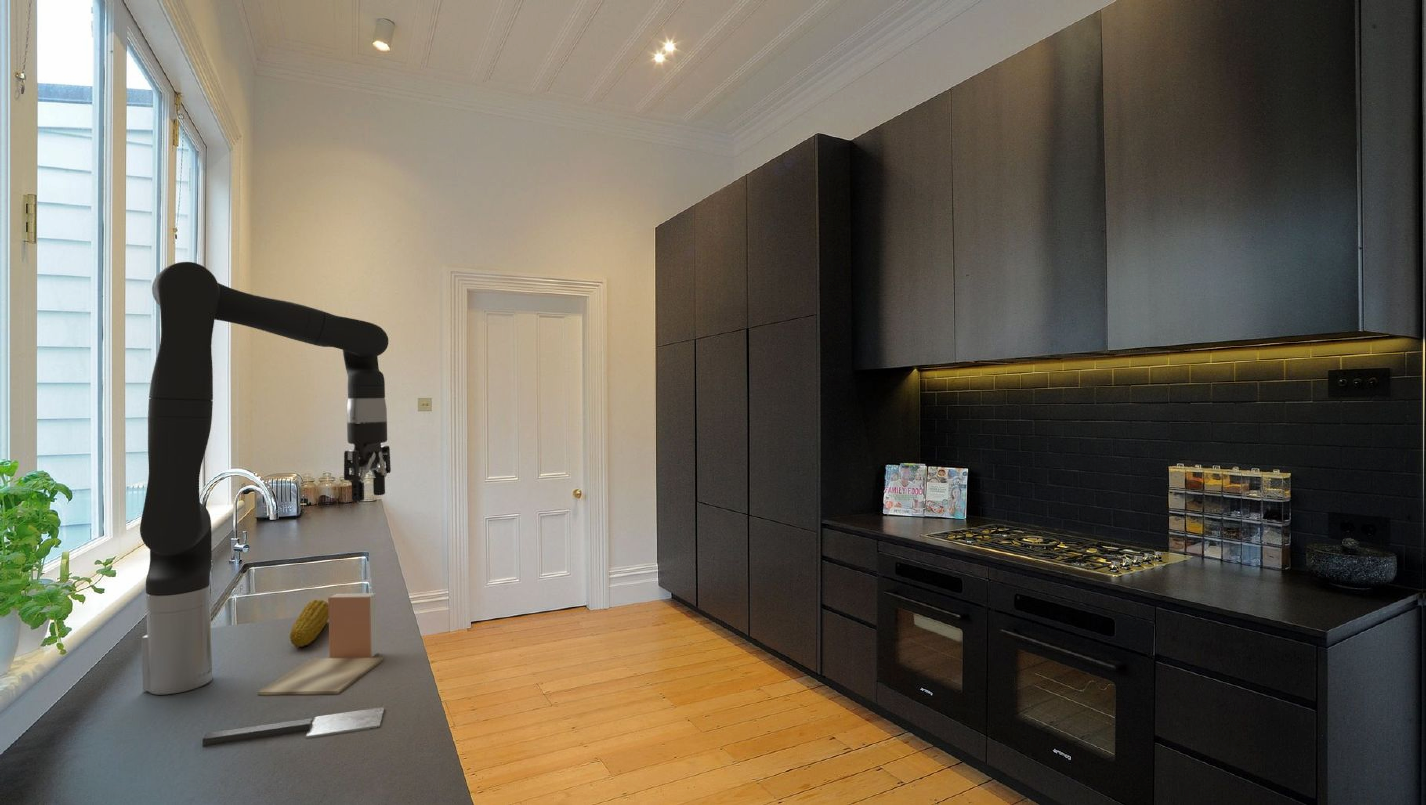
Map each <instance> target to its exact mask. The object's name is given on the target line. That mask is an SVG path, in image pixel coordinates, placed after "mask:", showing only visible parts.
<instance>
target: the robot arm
mask: <svg viewBox="0 0 1426 805" xmlns="http://www.w3.org/2000/svg"><path fill="white" fill-rule="evenodd" d="M151 293H152V296H153V298H154V301H155V302H156V304H157V305H158V306H159V310H160V315H159V316H160V343H159V348H158V351H157V356H156V359H155V362H154V367H153V371H152V375H151V379H150V387H149V393H148V405H147V406H148V408H147V456H148V457H147V458H148V459H147V460H148V461H147V462H148V477H147V478H148V479H147V485H146V492H145V496H144V502H143V503H144V504H143V509H142V515H141V517H140V518H141V520H140V525H139V535H140V538H141V540H142V542H143V544H144V545H145V546H146V547H147V549H149V565H148V572H147V575H146V579H145V599H146V600H145V602H146V606H145V607H146V633H147V634H145V635H143V636H142V637H141V664H142V665H141V666H142V669H141V670H142V692H148V693H150V694H153V695H158V696H159V695H172V694H178V693H184V692H187V691H191V690H195V689H198V688H201V687H203V686H205V685H206V684H208V683H210V682H211V681H212V679H213V655H212V654H213V653H212V652H213V649H212V648H213V647H212V619H211V618H212V617H211V616H212V615H211V584H210V583H211V582H210V580H211V579H210V578H211V577H210V576H211V569H212V562H213V561H212V560H213V559H212V557H213V556H212V550H213V549H212V547H213V544H212V543H213V542H212V541H213V540H212V538H213V537H212V519H211V515H210V513H209V510H208V509H207V508H206V506H205V505H204V504H203V503H201V502H200V501H201V500H200V498H201V497H200V476H201V475H200V474H201V469H202V465H203V461H204V457H205V454H206V451H207V446H208V442H209V440H210V434H211V430H212V422H213V406H214V404H213V403H214V401H213V400H214V376H213V374H214V371H213V354H212V345H213V344H212V343H213V333H214V332H213V331H214V326H215V320H216V321H220V322H221V321H222V322H227V323H232V324H237V325H241V326H245V327H248V328H252V329H255V330H256V329H257V330H259V331H263V332H266V333H271V334H273V335H277V336H280V337H282V338H287V339H291V340H294V341H298V342H301V343H305V344H309V345H312V346H313V345H314V346H317V347H322V348H323V347H324V348H335V349H338V350H342V354H343V362H344V366H345V370H346V374H347V406H346V424H347V425H346V427H347V428H346V429H347V434H346V435H347V443H348V444H351V445H354V446H353V449H352V450H351V449H350V450H344V452H343V454H344V455H343V479H344V481H348V482H349V483H351V501H353V502H362V501H364V500H365V483H364V480H365V478H366V475H367V474H369V473H370V472H371V474H372V480H373V481H372V488H373V490H372V491H373V495H374V496H383V495H385V494H386V479H385V478H386V477H387V475H388V474H391V472H392V470H391V469H392V468H391V449H390V446H389V445H381V443H386V442H387V441H388V417H387V416H388V415H387V414H388V411H387V405H386V386H385V385H386V383H385V375H384V373H383V372H382V371H380V369H379V368H380V367H379V359H378V357H379V356H381V355H382V354H384V352H386V350H387V349H388V345H389V337H388V334H387V333H386V331H385V330H384V329H383V328H382V327H381V326H379V325H377V324H375V323H372V322H368V321H365V320H361V319H355V318H351V317H345V316H340V315H336V314H335V315H334V314H332V313H329V312H327V311H323V310H322V309H318V308H314V307H310V306H307V305H303V304H300V303H295V302H293V301H292V302H291V301H287V300H281V299H275V298H271V297H265V296H260V295H256V294H252V293H247V292H244V291H241V290H238V289H234V288H231V287H229V286H227V285H225V284H221V283H219V282H218V280H217V278H216V277H215V275H214V274H213V273H212V272H211V271H210V270H209V269H208V268H207V267H205V266H203V265H202V264H200V263H197V262H193V261H181V262H179V261H178V262H176V263H173V264H170V265H168V266H167V267H164V268H163V269H162V270H161V271H160V272H159V273H158V274H157V275H156V277H155V278H154V280H153V283H152V286H151ZM350 471H351V472H350Z"/></svg>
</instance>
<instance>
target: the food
mask: <svg viewBox="0 0 1426 805" xmlns="http://www.w3.org/2000/svg"><path fill="white" fill-rule="evenodd" d="M328 621H329V610H328V601H325V600H322V599H319V600H317V599H314V600H312V601H310V602H309V603H307V604H306V605H305V606H304V608H303V609H302V611H301V612H300V614H299V616H298V617H297V619H296V621H295V622H294V624H293V626H292V628H291V629H290V634H289V639H290V642H291V643H290V644H291V645H293V646H294V647H296V648H301V647H306V646H308V645H310V644H311V643H312V642H313V641H314V640H315V639H316V638H317V637H318V635H320V633H321V631H323V628H324V627H325V625H326V624H327V622H328Z"/></svg>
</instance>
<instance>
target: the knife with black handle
mask: <svg viewBox="0 0 1426 805" xmlns="http://www.w3.org/2000/svg"><path fill="white" fill-rule="evenodd" d="M384 712H385V706H383V707H374V708H368V709H367V708H366V709H360V710H354V711H347V712H340V713H333V714H332V713H331V714H325V715H318V716H315V717H314V719H313V718H305V719H297V720H291V721H290V720H289V721H282V722H275V723H270V724H261V725H256V726H255V725H254V726H248V727H240V728H234V729H227V730H220V731H213V732H207V733H206V734H205V735H204V736H203V738H202V748H204V747H205V748H206V747H209V746H210V747H211V746H216V745H224V744H230V743H238V742H245V741H251V740H258V739H260V740H261V739H265V738H271V737H280V736H285V735H287V736H288V735H293V734H298V733H299V734H300V733H306V732H307V733H306V735H305V738H306V739H310V738H312V739H313V738H317V737H323V736H331V735H332V736H333V735H337V734H345V733H350V732H351V733H353V732H359V731H366V730H371V729H370V728H373V729H378V728H377V727H379V728H380V727H381V724H382V719H383V717H382V716H384Z"/></svg>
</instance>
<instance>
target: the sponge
mask: <svg viewBox="0 0 1426 805" xmlns="http://www.w3.org/2000/svg"><path fill="white" fill-rule="evenodd" d="M327 603H328V610H329V619H328V636H329V637H328V640H329V642H328V644H329V645H328V647H329V648H328V650H329V658H374V657H375V655H377V654H378V653H379V652H378V651H379V650H378V621H377V618H378V617H377V593H376V592H374V593H373V592H368V593H367V592H362V593H360V592H358V593H355V592H353V593H352V592H350V593H335V594H333V595H331V596H329V597H327Z"/></svg>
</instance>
